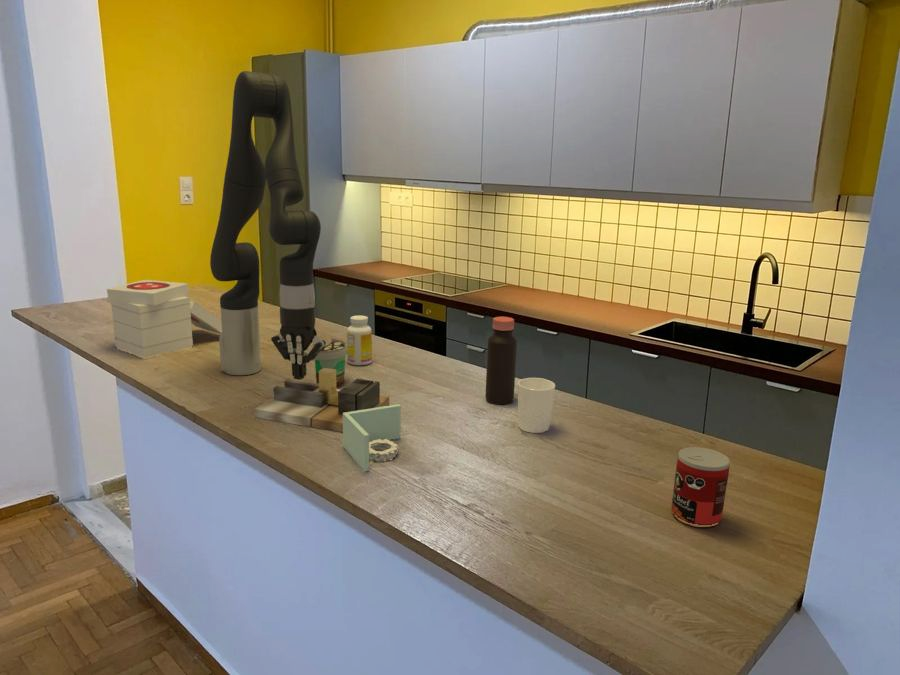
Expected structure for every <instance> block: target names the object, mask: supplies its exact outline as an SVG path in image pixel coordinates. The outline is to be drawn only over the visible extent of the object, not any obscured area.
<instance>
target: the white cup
mask: <svg viewBox="0 0 900 675" xmlns="http://www.w3.org/2000/svg"><path fill="white" fill-rule="evenodd" d="M555 390H556V383H555V382H554V381H552V380H548V379H546V378H542V377H526V378H522V379H519V380H518V381H517V417H518V426H517V427H518V428H519V429H520V430H521V431H524V432H527V433H532V434H542V433H546V432H547V431H549V430H550V427H551V426H550V425H551V417H552V413H553V407H554V397H555ZM545 431H546V432H545Z"/></svg>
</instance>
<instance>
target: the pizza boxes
mask: <svg viewBox="0 0 900 675" xmlns="http://www.w3.org/2000/svg"><path fill="white" fill-rule="evenodd" d="M189 287H190V286H189V283H185V282H175V281H174V282H172V281H162V280H154V279H153V280H150V279H143V280H137V281H135V282H130V283H126V284H122V285H118V286H114V287H110V288H107V289H106V294H107V300H108V302H110V304H111V312H112V323H113V331H114V333H113V334H114V342H115V348H116V347H119V348H121V349H124V350H127V351H130V352H132V353H135V354H137V355H140V356H143V357H148V356H152V355H156V354H160V353H165V352H170V351H174V350H178V349H183V348H186V347H191V346H193V347H194V341H193V331H192V327H193V326H195V327H196V328H199V329H203V330H206V331H209V332H212V333H216V334H220V335H222V322H221V318H219V317H218V316H216V315H215V314H214V313H212V312H210V310H207V309H206V308H205V307H204V306H202V305H201V304H199V303H198V302H196V301H194V300H191V299H190V297H189V295H190V288H189ZM187 296H188V297H187ZM192 325H193V326H192Z"/></svg>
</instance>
